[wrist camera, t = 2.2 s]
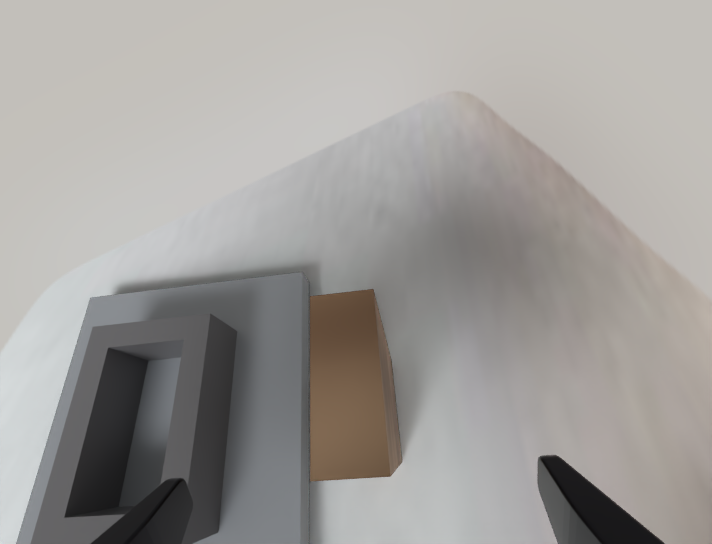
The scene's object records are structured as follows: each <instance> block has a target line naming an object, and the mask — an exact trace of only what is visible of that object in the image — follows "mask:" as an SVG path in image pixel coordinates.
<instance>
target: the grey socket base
mask: <svg viewBox="0 0 712 544" xmlns="http://www.w3.org/2000/svg"><path fill="white" fill-rule="evenodd" d="M171 478H183V479H184V480H185V481H186V483H187V486H188V488H189V491H190V493H191V496H192V498H193V510H192V514H191V517H190V520H189V523H188V526H187V529H186V532H185V536H184V539H183V542H182V544H309V281H308V280H307V278H306V277H305V275H304V273H303V272H296V273H288V274H280V275H272V276H263V277H255V278H247V279H239V280H231V281H223V282H214V283H206V284H198V285H190V286H182V287H174V288H165V289H157V290H149V291H141V292H133V293H125V294H116V295H108V296H100V297H92V298H90V300H89V304H88V307H87V310H86V314H85V317H84V320H83V324H82V327H81V330H80V334H79V337H78V340H77V344H76V347H75V350H74V354H73V357H72V360H71V363H70V367H69V370H68V373H67V377H66V380H65V383H64V387H63V390H62V393H61V397H60V400H59V403H58V407H57V410H56V413H55V417H54V420H53V423H52V426H51V430H50V433H49V436H48V440H47V443H46V446H45V450H44V453H43V456H42V460H41V463H40V466H39V470H38V473H37V476H36V480H35V483H34V486H33V489H32V493H31V496H30V499H29V503H28V506H27V509H26V513H25V516H24V519H23V523H22V526H21V529H20V533H19V536H18V539H17V543H16V544H90V543H92V542H93V541H94V540H95V539H96V538H98V537H99V536H100V535H101V534H102V533H103V532H105V531H106V530H107V529H108V528H109V527H111V526H112V525H113V524H114V523H115V522H117V521H118V520H119V519H120V518H121V517H123V516H124V515H125V514H126V513H127V512H128V511H130V510H131V509H132V508H133V507H134V506H136V505H137V504H138V503H139V502H140V501H142V500H143V499H144V498H145V497H146V496H148V495H149V494H150V493H151V492H152V491H153V490H155V489H156V488H157V487H158V486H159V485H161V484H162V483H163V482H164V481H166V480H167V479H171Z"/></svg>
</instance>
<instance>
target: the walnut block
mask: <svg viewBox="0 0 712 544" xmlns="http://www.w3.org/2000/svg"><path fill="white" fill-rule="evenodd" d="M401 463H402V456H401V447H400V437H399V428H398V418H397V409H396V400H395V390H394V381H393V371H392V362H391V357H390V353H389V349H388V345H387V341H386V337H385V333H384V329H383V325H382V321H381V317H380V313H379V309H378V306H377V302H376V298H375V294H374V290H373V289H370V290H361V291H352V292H344V293H335V294H326V295H318V296H310V481H324V480H340V479H357V478H373V477H390V476H391V475H392V474H393V473H394V471H395V470H396V469H397V468H398V466H399V465H400V464H401Z"/></svg>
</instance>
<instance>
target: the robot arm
mask: <svg viewBox="0 0 712 544" xmlns="http://www.w3.org/2000/svg"><path fill="white" fill-rule="evenodd" d="M537 481H538V488H539V492H540V495H541V498H542V500H543V503H544V506H545V509H546V512H547V514H548V517H549V520H550V523H551V525H552V528H553V531H554V534H555V537H556V539H557V542H558V544H665V543H664V542H662V541H661V540H660V539H659V538H658V537H656V536H655V535H654V534H653V533H651V532H650V531H649V530H648V529H647V528H645V527H644V526H643V525H642V524H640V523H639V522H638V521H637V520H636V519H634V518H633V517H632V516H631V515H630V514H628V513H627V512H626V511H625V510H623V509H622V508H621V507H620V506H619V505H617V504H616V503H615V502H614V501H612V500H611V499H610V498H609V497H608V496H606V495H605V494H604V493H603V492H602V491H600V490H599V489H598V488H597V487H595V486H594V485H593V484H592V483H591V482H589V481H588V480H587V479H586V478H585V477H583V476H582V475H581V474H580V473H578V472H577V471H576V470H575V469H574V468H572V467H571V466H570V465H569V464H567V463H566V462H565V461H564V460H563V459H561V458H560V457H559V456H556V455H546V456H540V457H539V458H538V479H537ZM192 510H193V498H192V496H191V493H190V491H189V488H188V486H187V483H186V481H185V480H184V479H183V478H171V479H167V480H166V481H164V482H163V483H162V484H161V485H159V486H158V487H157V488H156V489H155V490H153V491H152V492H151V493H150V494H149V495H148V496H146V497H145V498H144V499H143V500H142V501H140V502H139V503H138V504H137V505H136V506H134V507H133V508H132V509H131V510H130V511H128V512H127V513H126V514H125V515H124V516H123V517H121V518H120V519H119V520H118V521H117V522H115V523H114V524H113V525H112V526H111V527H109V528H108V529H107V530H106V531H105V532H103V533H102V534H101V535H100V536H99V537H98V538H96V539H95V540H94V541H93V542H92V543H90V544H182V542H183V539H184V536H185V532H186V529H187V526H188V523H189V520H190V517H191V514H192Z"/></svg>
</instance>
